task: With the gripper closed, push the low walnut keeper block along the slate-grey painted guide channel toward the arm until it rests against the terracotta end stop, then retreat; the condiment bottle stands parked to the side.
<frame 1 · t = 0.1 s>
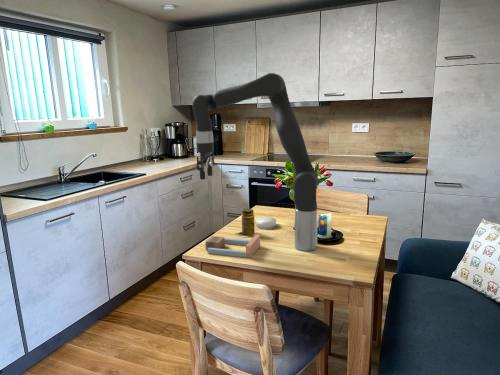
hand: (206, 177, 168), 29 cm above the table, fingers open, 8 cm apart
condiment: (246, 234, 180), on the table
keeper block: (215, 248, 163), on the table
guide track: (234, 249, 161), on the table
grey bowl: (266, 226, 191), on the table
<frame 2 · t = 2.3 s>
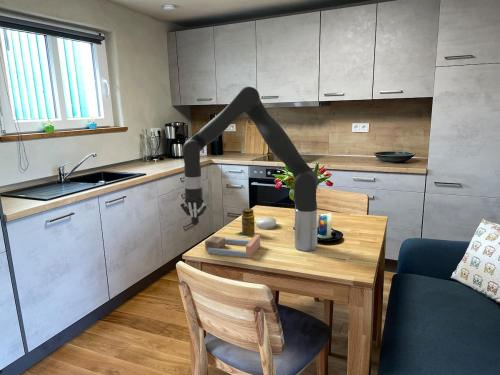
hand: (195, 224, 164), 10 cm above the table, fingers closed
nothing on the table moved.
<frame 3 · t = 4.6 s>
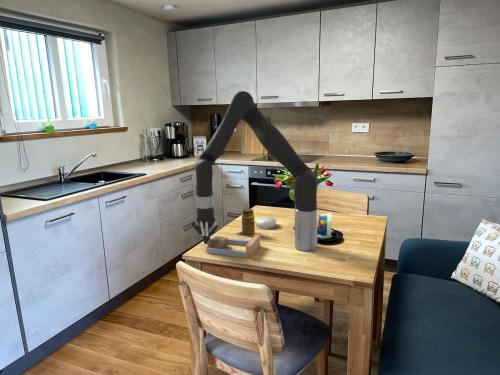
hand: (206, 243, 164), 1 cm above the table, fingers closed
keeper block: (217, 248, 163), on the table, touching gripper
everything else where it was.
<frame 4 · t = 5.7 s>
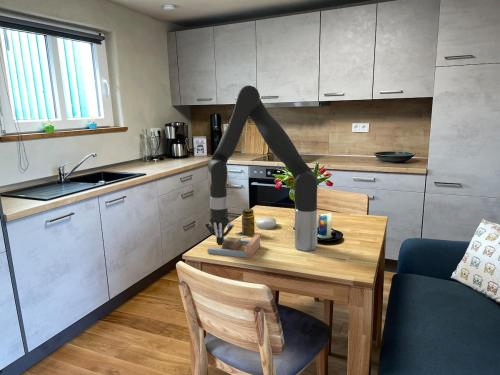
hand: (220, 244, 162), 1 cm above the table, fingers closed
keeper block: (231, 249, 162), on the table, touching gripper
everything else where it was.
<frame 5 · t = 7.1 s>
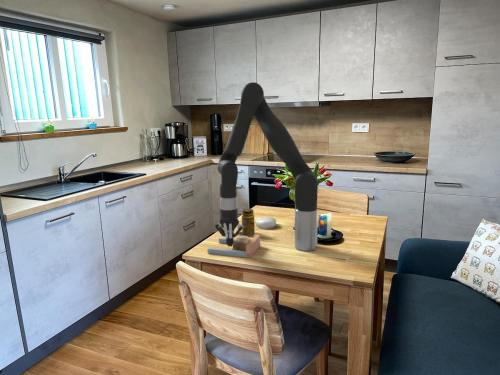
hand: (230, 245, 161), 2 cm above the table, fingers closed
keeper block: (242, 249, 161), on the table
everything else where it was.
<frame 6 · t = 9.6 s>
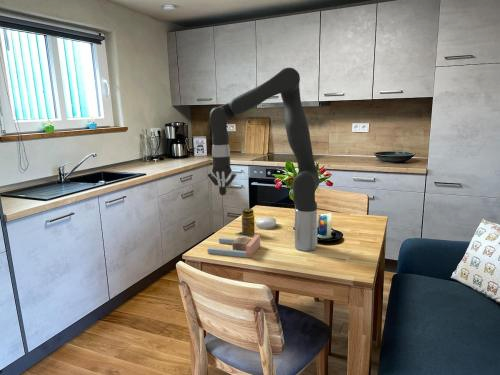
hand: (223, 194, 161), 23 cm above the table, fingers closed
nothing on the table moved.
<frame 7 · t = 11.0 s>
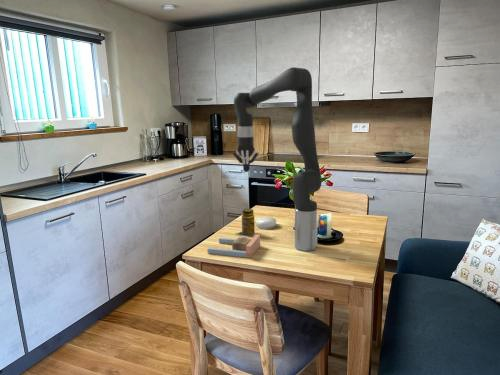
hand: (246, 171, 181), 29 cm above the table, fingers closed
nothing on the table moved.
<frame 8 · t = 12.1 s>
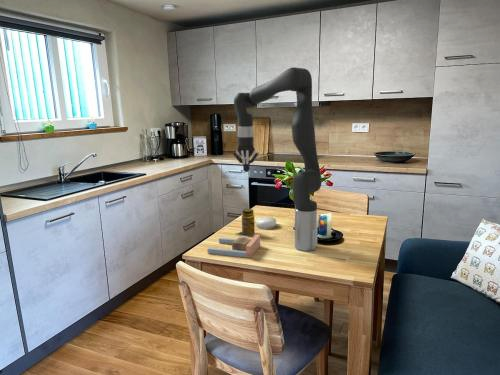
hand: (246, 171, 181), 29 cm above the table, fingers closed
nothing on the table moved.
at the end: keeper block inside the target area (1.3 cm from its centre), on the table; keeper block tilted 0°; keeper block moved 12.1 cm from its start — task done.
